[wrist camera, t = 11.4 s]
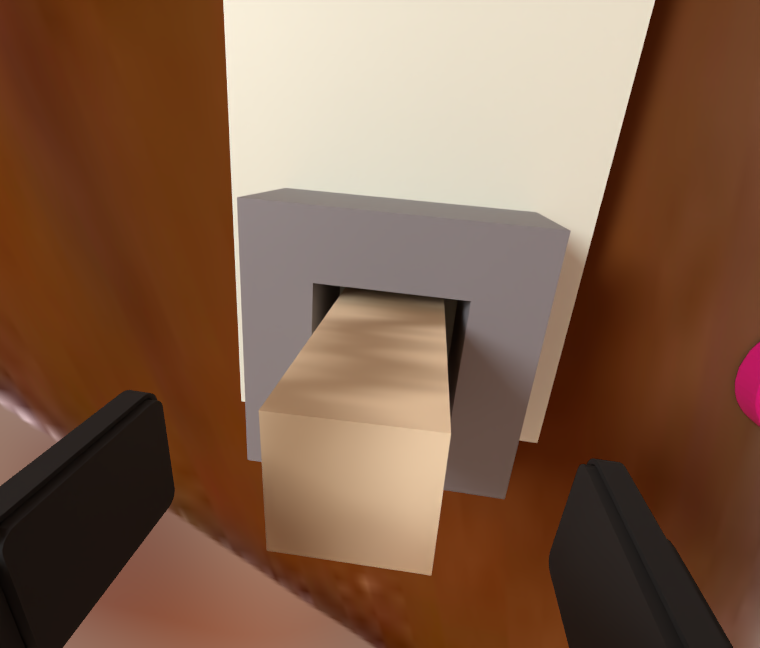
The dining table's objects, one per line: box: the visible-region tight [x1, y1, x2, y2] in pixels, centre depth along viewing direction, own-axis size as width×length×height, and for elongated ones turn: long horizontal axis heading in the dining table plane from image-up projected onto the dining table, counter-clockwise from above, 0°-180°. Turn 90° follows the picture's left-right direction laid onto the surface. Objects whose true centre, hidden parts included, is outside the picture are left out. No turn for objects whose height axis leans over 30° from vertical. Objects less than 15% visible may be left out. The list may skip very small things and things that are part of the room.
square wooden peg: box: [259, 287, 451, 575], centre depth 15 cm, size 4×4×12 cm
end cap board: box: [223, 0, 655, 499], centre depth 17 cm, size 16×24×6 cm, turn 175°
